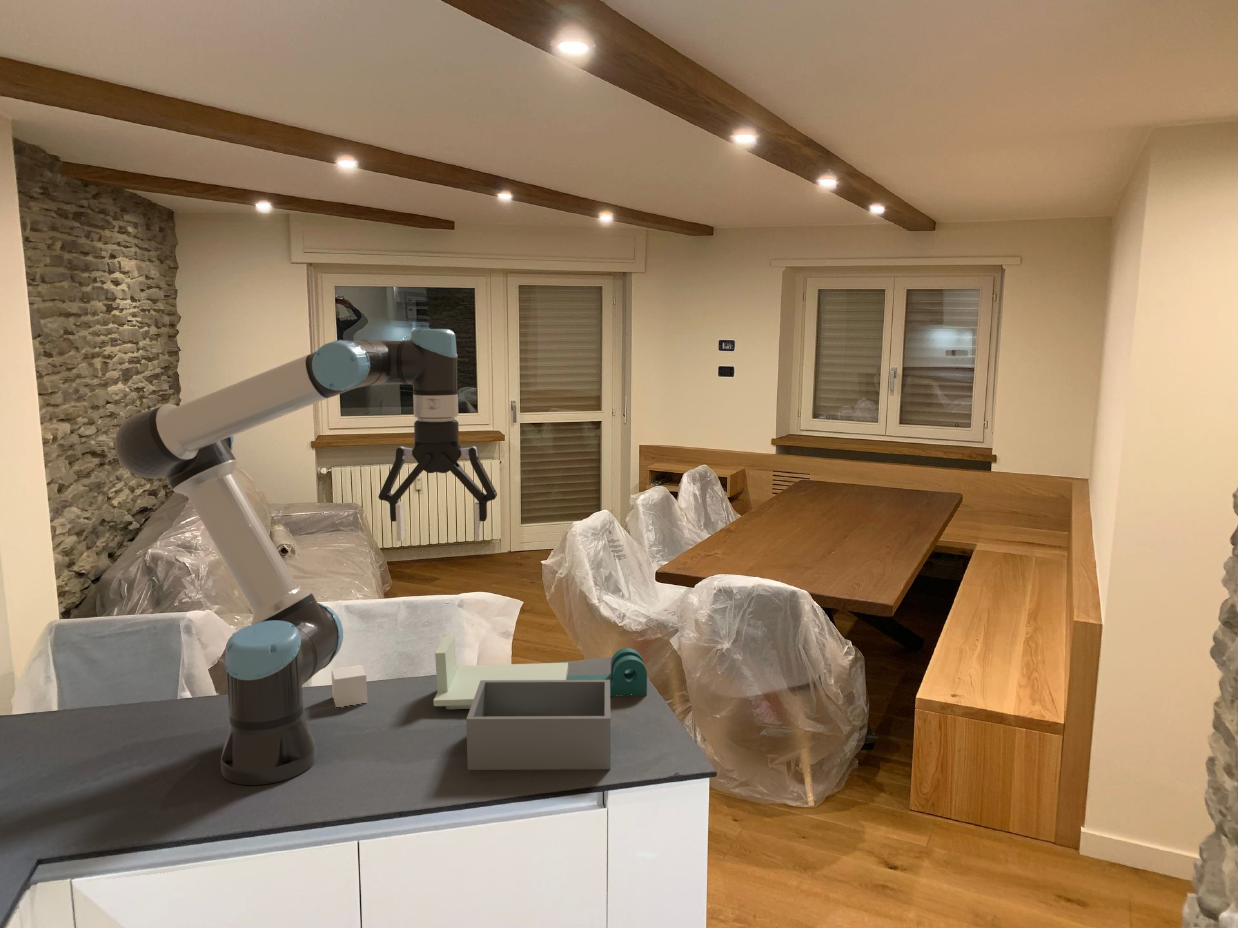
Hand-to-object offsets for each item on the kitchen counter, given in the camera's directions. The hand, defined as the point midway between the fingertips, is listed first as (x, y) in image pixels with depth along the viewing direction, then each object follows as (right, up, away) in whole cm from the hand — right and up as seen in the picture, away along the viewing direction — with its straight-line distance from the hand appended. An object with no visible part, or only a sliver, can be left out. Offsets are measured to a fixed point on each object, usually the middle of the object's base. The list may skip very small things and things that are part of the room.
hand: (439, 539), depth 158 cm
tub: (+18, -37, +2) cm, 41 cm away
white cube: (-22, -34, +22) cm, 46 cm away
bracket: (+28, -34, +27) cm, 51 cm away
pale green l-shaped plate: (+8, -33, +24) cm, 42 cm away
